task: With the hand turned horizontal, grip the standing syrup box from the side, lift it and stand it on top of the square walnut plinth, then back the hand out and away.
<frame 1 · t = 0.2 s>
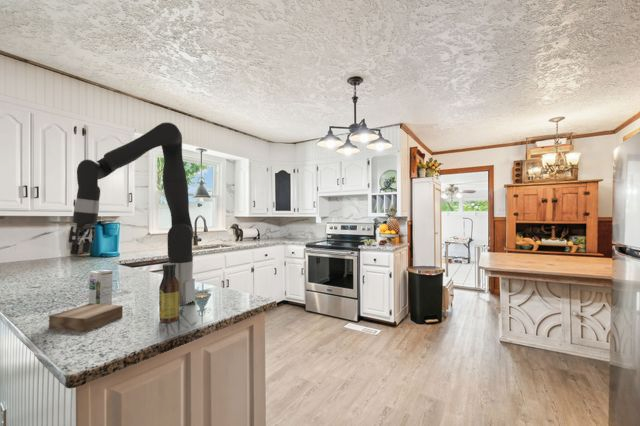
hand: (80, 253, 115), 22 cm above the table, tool pointing down, fingers open, 8 cm apart
syrup box: (100, 307, 119), on the table
walnut plinth: (87, 322, 102), on the table
sauce bottle: (169, 321, 104), on the table
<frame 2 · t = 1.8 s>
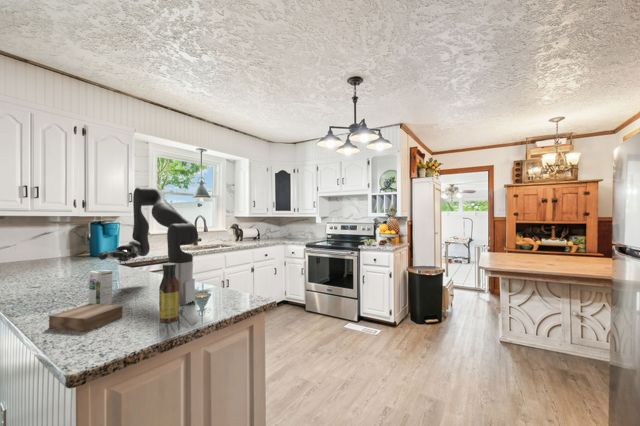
hand: (112, 257, 130), 18 cm above the table, tool horizontal, fingers open, 8 cm apart
nothing on the table moved.
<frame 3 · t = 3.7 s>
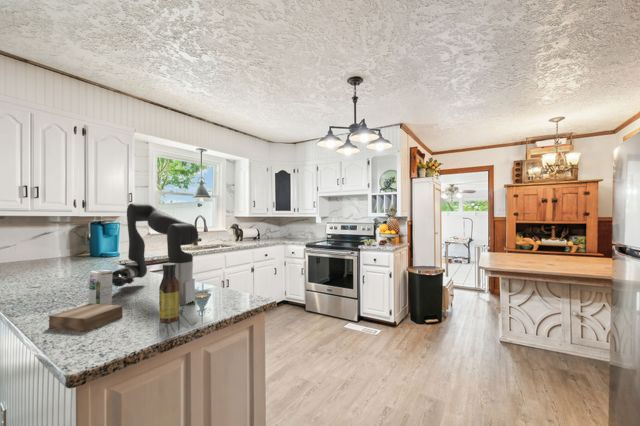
hand: (107, 283, 124), 8 cm above the table, tool horizontal, fingers open, 8 cm apart
nothing on the table moved.
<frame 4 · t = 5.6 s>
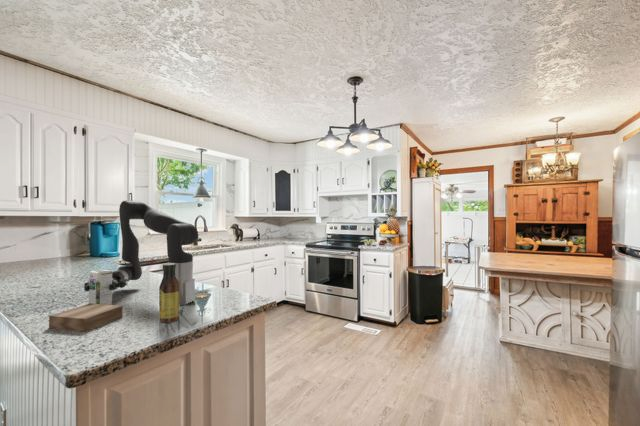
hand: (98, 288, 117), 8 cm above the table, tool horizontal, fingers closed on syrup box, 7 cm apart
syrup box: (100, 307, 119), on the table, touching gripper
everything else where it was.
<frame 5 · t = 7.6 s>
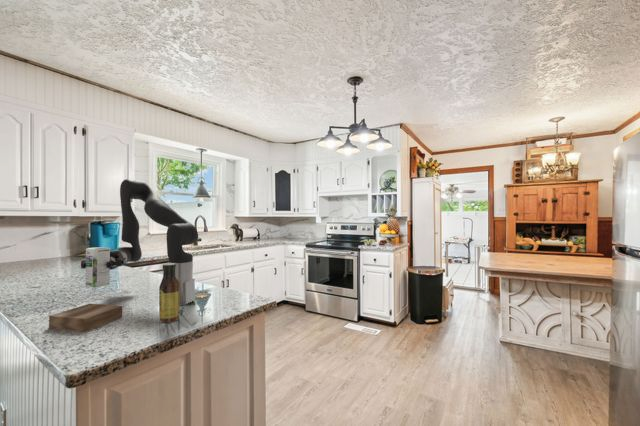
hand: (95, 265, 112), 18 cm above the table, tool horizontal, fingers closed on syrup box, 7 cm apart
syrup box: (97, 286, 114), point 10 cm above the table, touching gripper
everything else where it was.
when the fingers open (13 cm above the table, at t = 10.2 s): syrup box stays where it is, resting on walnut plinth.
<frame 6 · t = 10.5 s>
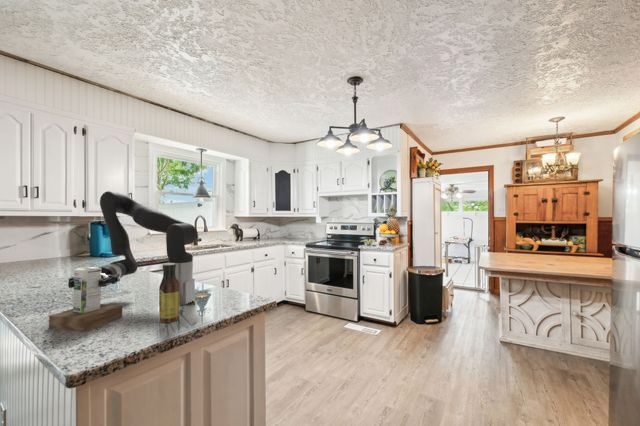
hand: (85, 284, 100), 13 cm above the table, tool horizontal, fingers open, 8 cm apart
syrup box: (86, 311, 102), point 4 cm above the table, touching gripper, walnut plinth
everything else where it was.
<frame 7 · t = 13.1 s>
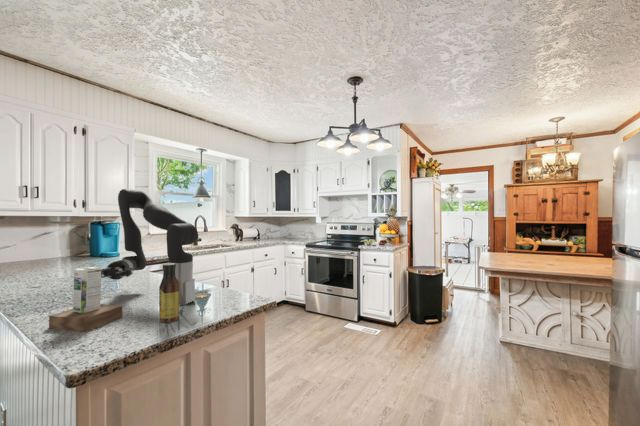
hand: (103, 276, 113), 14 cm above the table, tool horizontal, fingers open, 8 cm apart
syrup box: (86, 311, 102), point 4 cm above the table, touching walnut plinth
everything else where it was.
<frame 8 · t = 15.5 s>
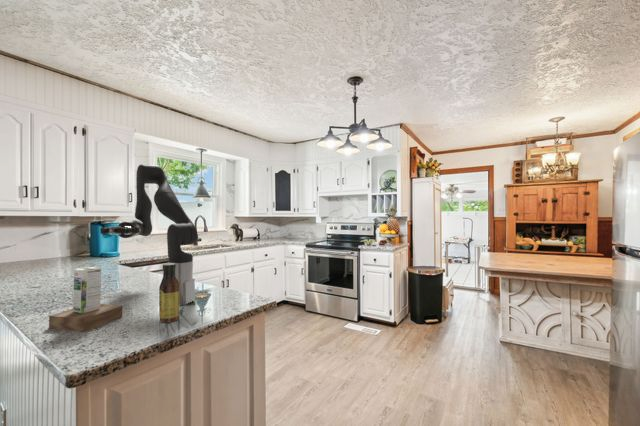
hand: (114, 231, 125), 30 cm above the table, tool horizontal, fingers open, 8 cm apart
nothing on the table moved.
at the end: syrup box inside the target area on the walnut plinth (0.4 cm from its centre), point 3.8 cm above the walnut plinth's base; syrup box tilted 0°; the gripper is holding nothing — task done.
